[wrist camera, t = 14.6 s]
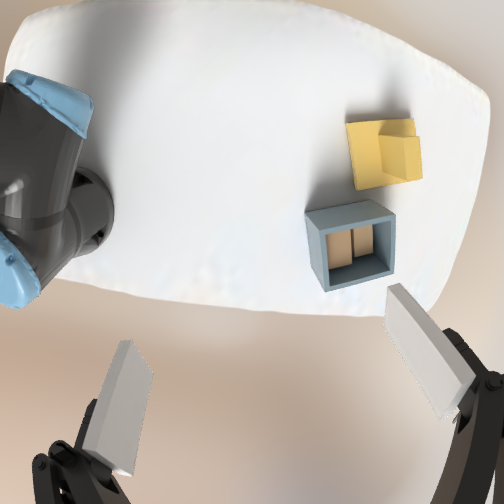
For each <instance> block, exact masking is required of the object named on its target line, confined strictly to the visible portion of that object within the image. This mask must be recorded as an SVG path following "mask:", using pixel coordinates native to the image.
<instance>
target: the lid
mask: <svg viewBox="0 0 504 504" xmlns="http://www.w3.org/2000/svg"><path fill="white" fill-rule="evenodd" d="M345 125H346V130H347V136H348V141H349V148H350V154H351V161H352V168H353V175H354V184H355V189H356V190H358V191H360V190H365V189H370V188H375V187H381V186H386V185H392V184H397V183H403V182H409V181H414V180H420V179H422V178H423V177H422V161H421V149H420V140H419V137H418V136H416V132H415V125H414V119H391V120H376V121H364V122H353V123H345Z"/></svg>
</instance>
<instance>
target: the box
mask: <svg viewBox="0 0 504 504" xmlns="http://www.w3.org/2000/svg"><path fill="white" fill-rule="evenodd" d="M304 214H305V221H306V228H307V236H308V243H309V251H310V259H311V267H312V269H313V271H314V273H315V275H316V277H317V278H318V280H319V282H320V284H321V286H322V288H323V290H324V292H328V291H332V290H336V289H340V288H344V287H348V286H351V285H355V284H359V283H362V282H366V281H370V280H373V279H377V278H380V277H384V276H387V275H391V274H394V262H395V231H396V215H395V214H394V213H393V212H391V211H389V210H388V209H386V208H384V207H383V206H381V205H379V204H378V203H376V202H374V201H372V200H367V201H362V202H357V203H351V204H346V205H341V206H336V207H330V208H325V209H320V210H315V211H310V212H305V213H304Z"/></svg>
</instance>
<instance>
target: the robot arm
mask: <svg viewBox="0 0 504 504" xmlns="http://www.w3.org/2000/svg"><path fill="white" fill-rule="evenodd" d="M93 109H94V104H93V101H92V99H91V98H90V96H88V95H87V94H85V93H83V92H81V91H78V90H76V89H73V88H71V87H68V86H66V85H63V84H60V83H58V82H55V81H52V80H49V79H46V78H43V77H40V76H36V75H33V74H30V73H27V72H24V71H21V70H16V69H15V70H12V71H11V72H10V74H9V75H8V76H7V77H6V82H5V83H3V82H0V303H1V304H3V305H5V306H7V307H9V308H13V309H20V308H23V307H25V306H27V305H28V304H29V303H30V302H31V301H32V300H34V299H35V298H36V297H38V296H39V294H41V293H40V292H41V291H42V290H43V288H44V287H45V286H46V285H47V284H48V283H49V282H50V281H51V280H52V279H53V278H54V277H55V276H56V274H57V273H58V272H59V271H60V270H61V269H62V268H63V267H64V266H65V265H66V264H67V263H68V262H69V261H70V260H71V259H72V258H75V257H79V256H82V255H86V254H89V253H91V252H93V251H94V250H96V249H97V248H98V247H99V246H100V245H101V244H102V243H103V242H104V241H105V240H106V239H107V237H108V236H109V234H110V232H111V229H112V226H113V221H114V207H113V202H112V198H111V195H110V193H109V191H108V189H107V187H106V185H105V184H104V182H103V181H102V180H101V179H100V178H99V177H98V176H97V175H96V174H95V173H93V172H92V171H90V170H88V169H85V168H81V167H77V163H78V159H79V156H80V153H81V149H82V146H83V143H84V140H86V138H87V134H86V133H87V129H88V126H89V123H90V119H91V116H92V113H93ZM383 328H384V329H385V331H386V332H387V334H388V335H389V337H390V338H391V340H392V342H393V343H394V345H395V346H396V348H397V349H398V351H399V353H400V354H401V356H402V358H403V359H404V361H405V362H406V364H407V366H408V367H409V369H410V371H411V372H412V374H413V376H414V377H415V379H416V381H417V382H418V384H419V386H420V388H421V389H422V391H423V393H424V394H425V396H426V398H427V400H428V402H429V404H430V405H431V407H432V409H433V411H434V412H435V414H436V416H437V418H438V420H439V421H440V420H442V419H443V418H445V417H447V416H449V415H450V414H452V413H453V412H454V410H455V409H456V407H457V406H458V408H459V410H460V411H459V413H458V414H457V416H456V417H455V418H454V420H453V422H452V423H455V422H456V421H457V423H456V428H455V432H454V436H453V440H452V444H451V448H450V451H449V454H448V457H447V461H446V464H445V467H444V470H443V473H442V476H441V479H440V481H439V484H438V486H437V489H436V491H435V494H434V496H433V499H432V501H431V503H430V504H485V502H486V499H487V495H488V492H489V489H490V486H491V482H492V478H493V475H494V470H495V485H494V495H493V504H504V374H502V375H501V374H499V373H498V372H495V371H488V370H487V369H486V368H485V366H484V365H483V364H482V362H481V361H480V360H479V358H478V357H477V356H476V355H475V353H474V352H473V351H472V350H471V349H470V348H469V346H468V345H467V343H466V342H464V340H463V339H462V337H461V336H460V335H459V334H458V333H457V332H455V331H454V330H452V329H450V328H447V329H445V330H443V331H441V329H440V328H439V327H438V326H437V325H436V324H435V322H434V321H433V320H432V319H431V317H429V315H428V314H427V313H426V312H425V310H424V309H423V308H422V307H421V306H420V305H419V304H418V302H417V301H416V300H415V299H414V298H413V297H412V296H411V295H410V294H409V292H408V291H407V290H406V289H405V288H404V287H403V286H402V285H401V284H400V283H398V284H395V285H391V286H388V287H387V296H386V307H385V316H384V325H383ZM153 375H154V373H153V372H152V370H151V369H150V367H149V366H148V364H147V363H146V361H145V360H144V358H143V356H142V355H141V353H140V352H139V351H138V348H137V347H136V345H135V344H134V342H133V340H125V341H120V343H119V346H118V348H117V350H116V353H115V355H114V358H113V360H112V363H111V365H110V368H109V370H108V373H107V375H106V378H105V381H104V383H103V386H102V389H101V392H100V394H99V397H98V399H93V400H92V401H91V403H90V404H89V405H88V407H87V409H86V412H85V417H84V418H83V421H82V424H81V427H80V430H79V433H78V436H77V439H76V442H75V446H74V448H72V447H71V446H70V445H69V444H67V443H66V442H64V441H62V440H58V441H55V442H54V443H53V444H52V445H51V447H50V448H49V452H48V456H46V455H45V454H43V453H40V454H38V455H36V456H35V457H34V459H33V462H32V473H33V485H34V494H35V501H36V504H131V503H130V502H129V500H128V498H127V497H126V496H125V494H124V492H123V491H122V489H121V487H120V486H119V484H118V482H117V480H116V479H115V477H114V476H113V475H112V474H111V473H112V470H113V471H115V472H117V473H118V474H120V475H126V476H133V475H134V469H135V462H136V457H137V451H138V445H139V440H140V435H141V430H142V425H143V420H144V415H145V410H146V406H147V401H148V396H149V392H150V388H151V384H152V379H153ZM59 488H60V489H62V494H61V493H60V489H59Z"/></svg>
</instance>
